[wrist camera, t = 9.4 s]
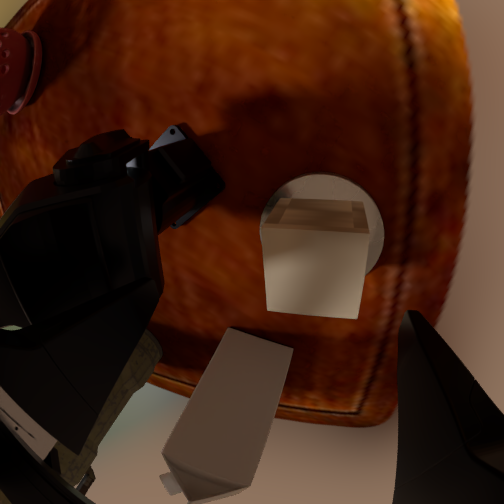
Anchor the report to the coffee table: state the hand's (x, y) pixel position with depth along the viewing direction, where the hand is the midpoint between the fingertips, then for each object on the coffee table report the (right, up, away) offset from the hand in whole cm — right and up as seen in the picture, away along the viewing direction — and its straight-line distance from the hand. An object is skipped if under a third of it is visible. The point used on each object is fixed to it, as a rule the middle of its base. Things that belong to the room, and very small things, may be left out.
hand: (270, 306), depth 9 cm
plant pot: (-29, +26, +10) cm, 40 cm away
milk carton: (0, -10, +20) cm, 23 cm away
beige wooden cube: (+4, +3, +10) cm, 11 cm away
